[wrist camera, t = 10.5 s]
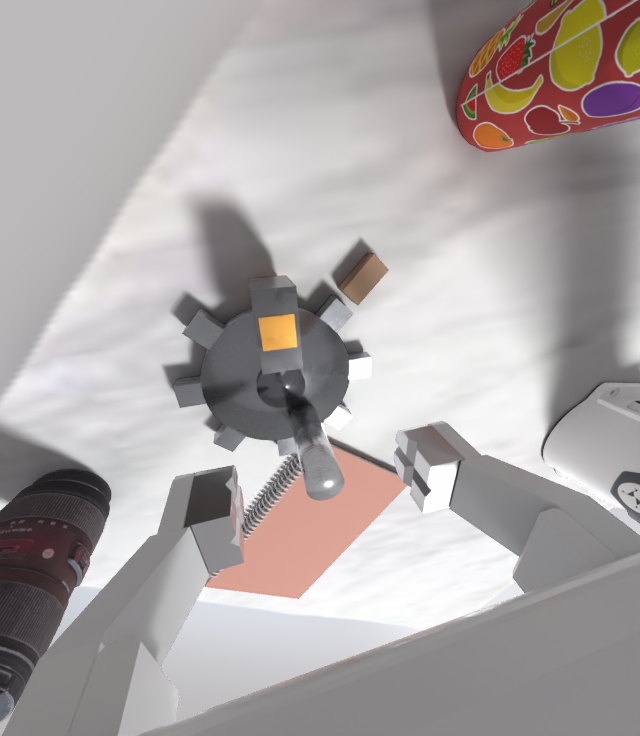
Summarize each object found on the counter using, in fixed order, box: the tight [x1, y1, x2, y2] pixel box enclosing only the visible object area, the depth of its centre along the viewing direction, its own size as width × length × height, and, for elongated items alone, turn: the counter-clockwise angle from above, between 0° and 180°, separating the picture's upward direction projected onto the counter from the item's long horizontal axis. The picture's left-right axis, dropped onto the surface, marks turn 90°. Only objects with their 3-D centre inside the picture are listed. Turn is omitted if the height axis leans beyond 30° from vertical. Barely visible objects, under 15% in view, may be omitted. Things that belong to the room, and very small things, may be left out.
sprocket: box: [173, 295, 371, 501], centre depth 23 cm, size 18×18×10 cm
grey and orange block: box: [248, 275, 303, 374], centre depth 21 cm, size 3×6×5 cm, turn 3°
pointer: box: [338, 253, 388, 305], centre depth 25 cm, size 4×2×2 cm, turn 138°
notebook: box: [205, 443, 407, 599], centre depth 39 cm, size 27×17×2 cm, turn 143°
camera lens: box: [0, 470, 111, 723], centre depth 22 cm, size 8×8×15 cm
